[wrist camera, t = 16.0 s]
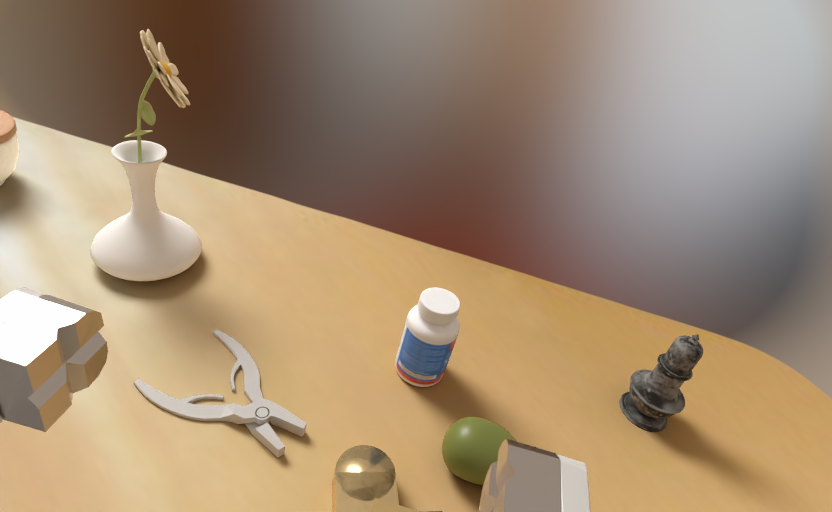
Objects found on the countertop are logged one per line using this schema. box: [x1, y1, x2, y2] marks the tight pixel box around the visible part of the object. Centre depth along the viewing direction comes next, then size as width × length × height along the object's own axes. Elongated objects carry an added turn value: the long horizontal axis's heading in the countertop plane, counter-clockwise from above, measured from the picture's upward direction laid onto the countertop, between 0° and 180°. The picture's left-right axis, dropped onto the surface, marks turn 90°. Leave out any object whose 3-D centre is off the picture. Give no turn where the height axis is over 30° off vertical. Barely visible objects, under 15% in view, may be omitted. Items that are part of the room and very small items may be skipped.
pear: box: [442, 417, 517, 485], centre depth 48 cm, size 6×5×10 cm
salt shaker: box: [620, 334, 703, 432], centre depth 57 cm, size 6×6×12 cm
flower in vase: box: [90, 29, 202, 281], centre depth 56 cm, size 13×11×25 cm
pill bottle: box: [395, 288, 460, 387], centre depth 55 cm, size 6×5×10 cm
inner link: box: [332, 445, 399, 512], centre depth 43 cm, size 10×5×2 cm, turn 8°
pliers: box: [134, 330, 307, 457], centre depth 50 cm, size 10×2×15 cm
